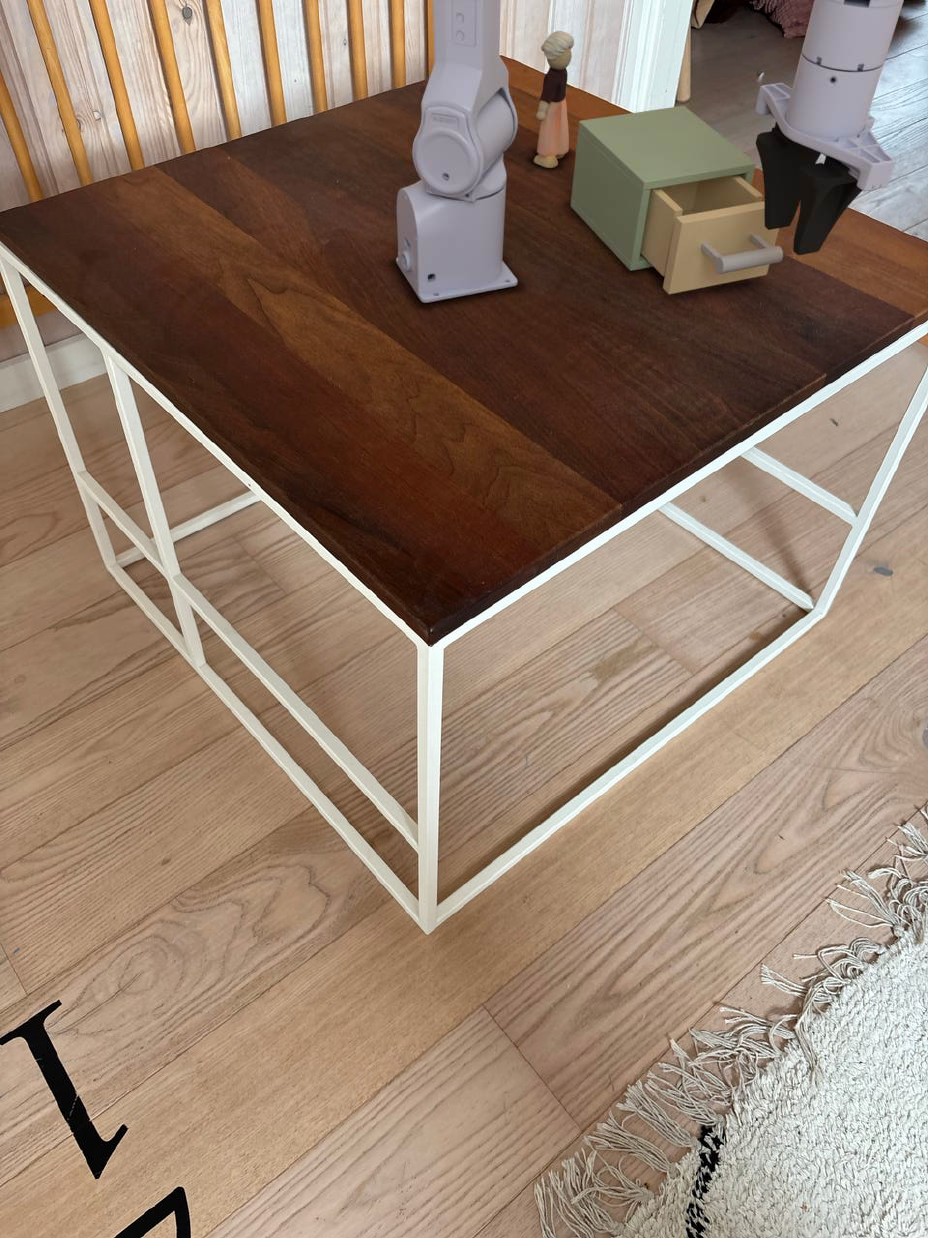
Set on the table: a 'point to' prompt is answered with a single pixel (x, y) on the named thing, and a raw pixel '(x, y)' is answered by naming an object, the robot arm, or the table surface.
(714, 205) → the drawer
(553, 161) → the grandmother figurine
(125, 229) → the table surface
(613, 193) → the cabinet
